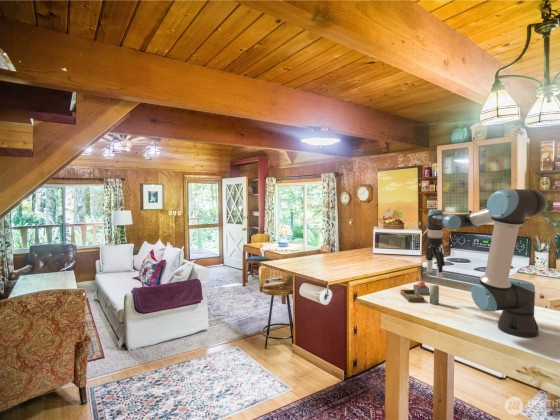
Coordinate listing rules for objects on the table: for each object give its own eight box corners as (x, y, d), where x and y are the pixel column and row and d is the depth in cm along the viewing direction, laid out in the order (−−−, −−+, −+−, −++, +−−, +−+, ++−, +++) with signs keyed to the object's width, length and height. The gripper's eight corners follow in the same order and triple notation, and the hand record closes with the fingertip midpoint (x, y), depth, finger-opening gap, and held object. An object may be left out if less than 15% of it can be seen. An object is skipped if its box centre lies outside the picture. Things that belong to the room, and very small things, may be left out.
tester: (429, 294, 202) (429, 288, 202) (417, 294, 203) (417, 287, 203) (424, 291, 209) (424, 284, 209) (413, 290, 210) (413, 284, 210)
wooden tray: (424, 302, 189) (424, 297, 188) (408, 302, 189) (408, 297, 189) (414, 293, 204) (414, 289, 204) (400, 293, 205) (400, 289, 205)
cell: (440, 304, 184) (440, 286, 183) (431, 304, 184) (431, 286, 183) (436, 302, 188) (436, 283, 188) (428, 302, 189) (428, 283, 188)
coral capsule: (425, 292, 204) (425, 282, 204) (419, 292, 204) (419, 282, 204) (423, 290, 208) (423, 281, 208) (416, 290, 208) (416, 280, 208)
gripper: (452, 240, 171) (451, 280, 173) (432, 234, 196) (432, 269, 198) (437, 240, 172) (436, 280, 173) (420, 234, 197) (419, 269, 198)
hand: (434, 274), depth 185 cm, fingers open, 13 cm apart
